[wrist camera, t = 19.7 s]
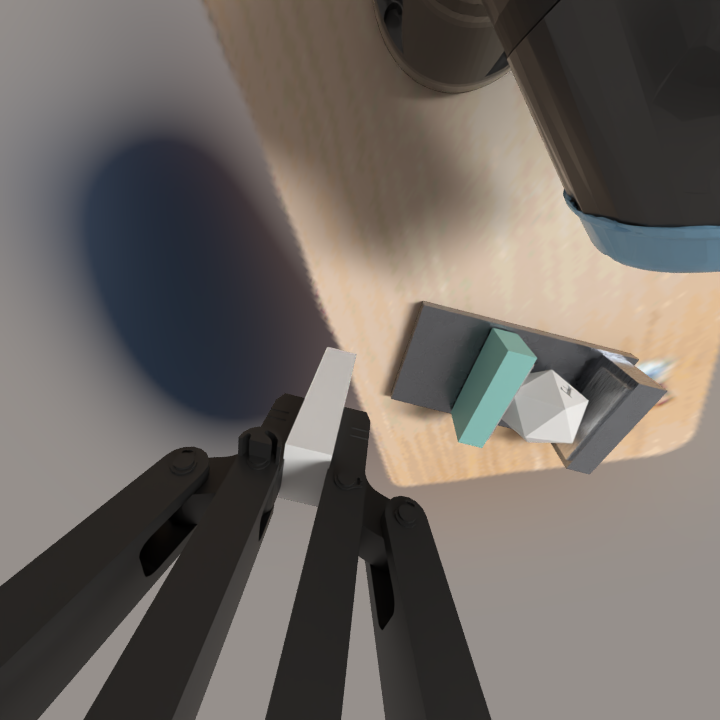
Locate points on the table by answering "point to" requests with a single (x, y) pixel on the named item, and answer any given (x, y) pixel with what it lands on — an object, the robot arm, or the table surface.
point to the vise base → (554, 352)
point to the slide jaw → (491, 386)
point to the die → (546, 409)
